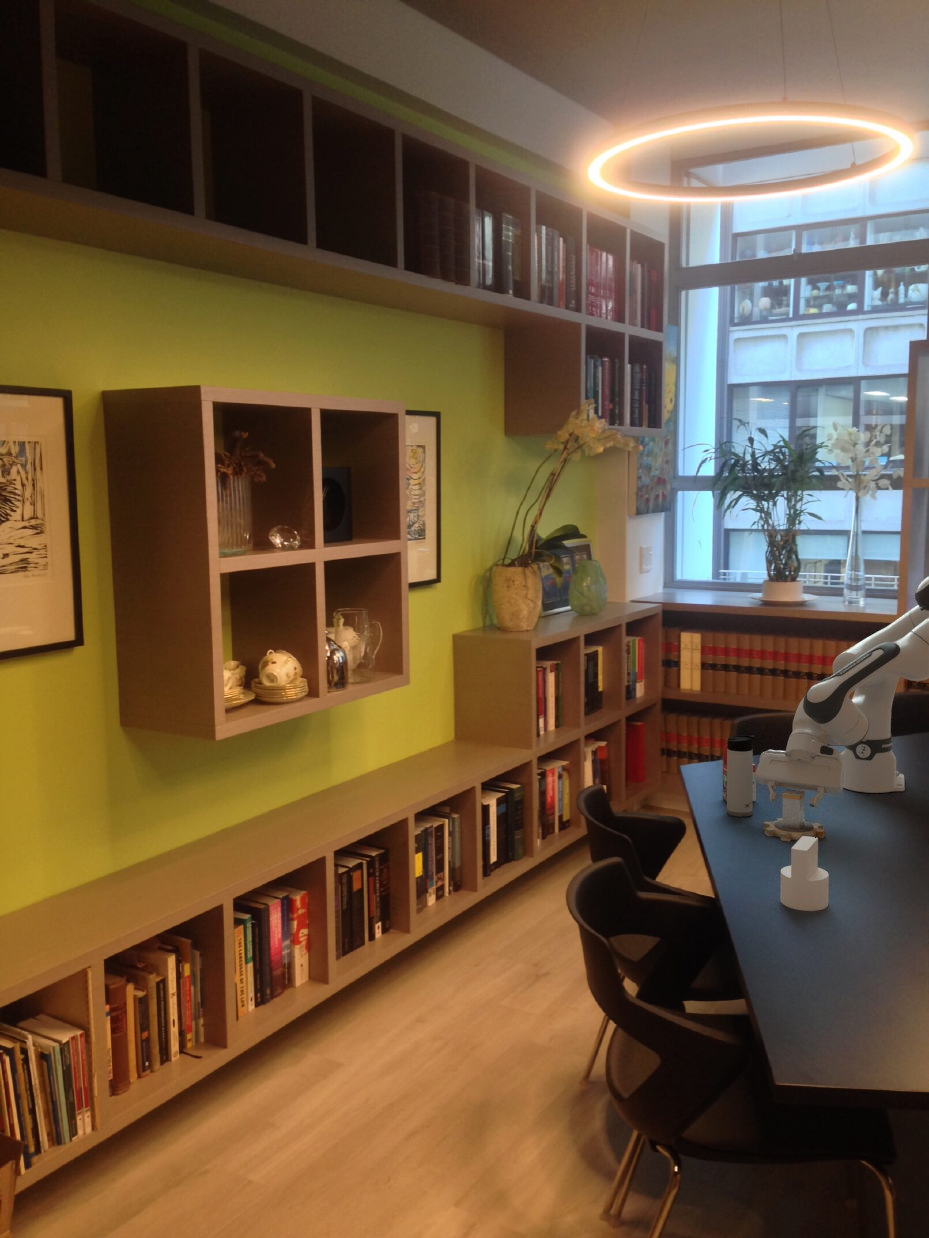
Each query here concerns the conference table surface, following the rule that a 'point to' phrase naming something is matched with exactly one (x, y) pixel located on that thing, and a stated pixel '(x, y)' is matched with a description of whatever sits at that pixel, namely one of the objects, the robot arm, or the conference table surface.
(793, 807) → the link block
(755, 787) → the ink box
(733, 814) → the travel mug
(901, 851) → the conference table surface
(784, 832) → the toothed wheel
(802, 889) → the base with upright slab
